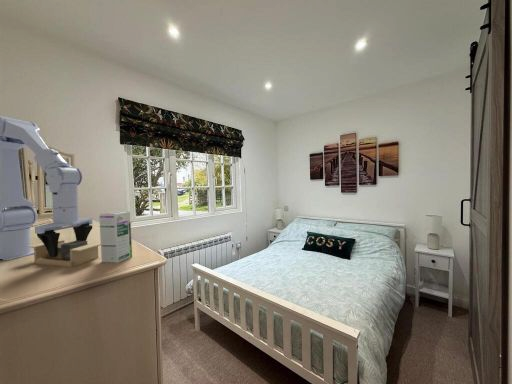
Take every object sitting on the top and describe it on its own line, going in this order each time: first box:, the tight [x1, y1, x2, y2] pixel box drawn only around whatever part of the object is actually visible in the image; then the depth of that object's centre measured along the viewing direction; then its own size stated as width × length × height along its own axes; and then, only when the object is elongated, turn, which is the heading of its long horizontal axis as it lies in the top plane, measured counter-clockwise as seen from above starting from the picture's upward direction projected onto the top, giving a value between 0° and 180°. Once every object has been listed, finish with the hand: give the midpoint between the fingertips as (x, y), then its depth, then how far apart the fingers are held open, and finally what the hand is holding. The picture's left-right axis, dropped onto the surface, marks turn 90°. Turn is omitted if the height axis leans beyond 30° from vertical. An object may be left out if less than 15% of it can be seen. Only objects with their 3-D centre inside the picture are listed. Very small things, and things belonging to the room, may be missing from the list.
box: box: [46, 240, 88, 261], centre depth 66 cm, size 10×4×6 cm, turn 76°
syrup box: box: [98, 210, 133, 264], centre depth 66 cm, size 6×6×14 cm
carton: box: [26, 239, 101, 268], centre depth 66 cm, size 20×8×5 cm, turn 76°
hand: (67, 252), depth 66 cm, fingers open, 7 cm apart
